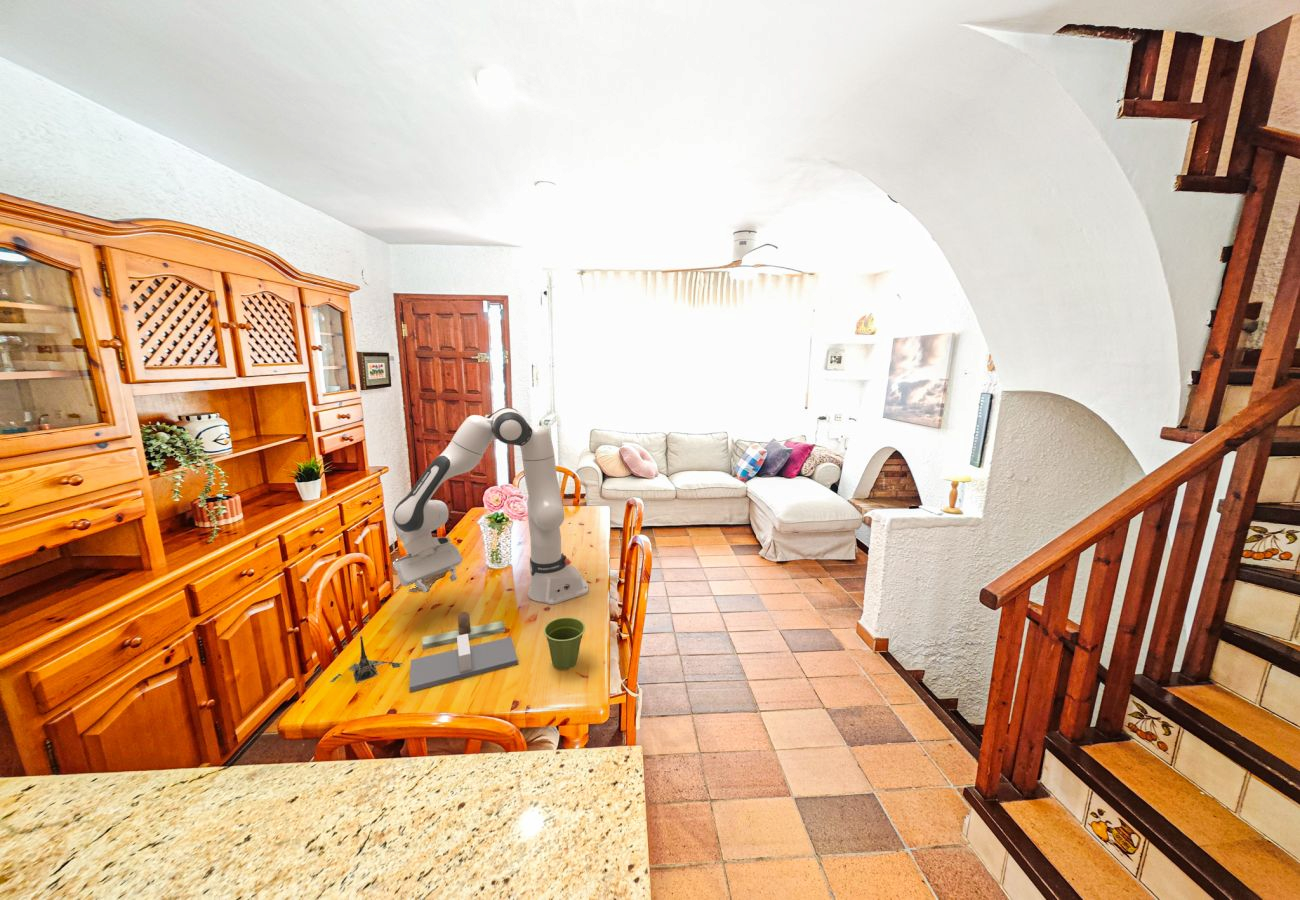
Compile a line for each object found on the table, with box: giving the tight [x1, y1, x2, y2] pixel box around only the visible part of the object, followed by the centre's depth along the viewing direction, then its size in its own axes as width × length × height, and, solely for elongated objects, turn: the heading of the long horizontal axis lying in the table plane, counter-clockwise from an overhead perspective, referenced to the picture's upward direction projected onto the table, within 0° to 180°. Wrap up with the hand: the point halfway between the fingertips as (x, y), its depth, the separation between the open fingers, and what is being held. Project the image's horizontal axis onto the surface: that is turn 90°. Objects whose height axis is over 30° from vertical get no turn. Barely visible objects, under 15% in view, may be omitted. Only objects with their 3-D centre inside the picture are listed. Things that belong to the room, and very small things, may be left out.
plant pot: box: [543, 616, 586, 671], centre depth 134 cm, size 12×12×11 cm
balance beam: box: [421, 611, 506, 650], centre depth 145 cm, size 24×4×8 cm, turn 114°
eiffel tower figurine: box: [329, 635, 403, 684], centre depth 127 cm, size 15×10×13 cm
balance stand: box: [408, 634, 519, 693], centre depth 132 cm, size 28×12×6 cm, turn 115°
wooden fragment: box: [407, 570, 450, 593], centre depth 183 cm, size 26×11×1 cm, turn 173°
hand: (441, 585), depth 149 cm, fingers open, 8 cm apart
